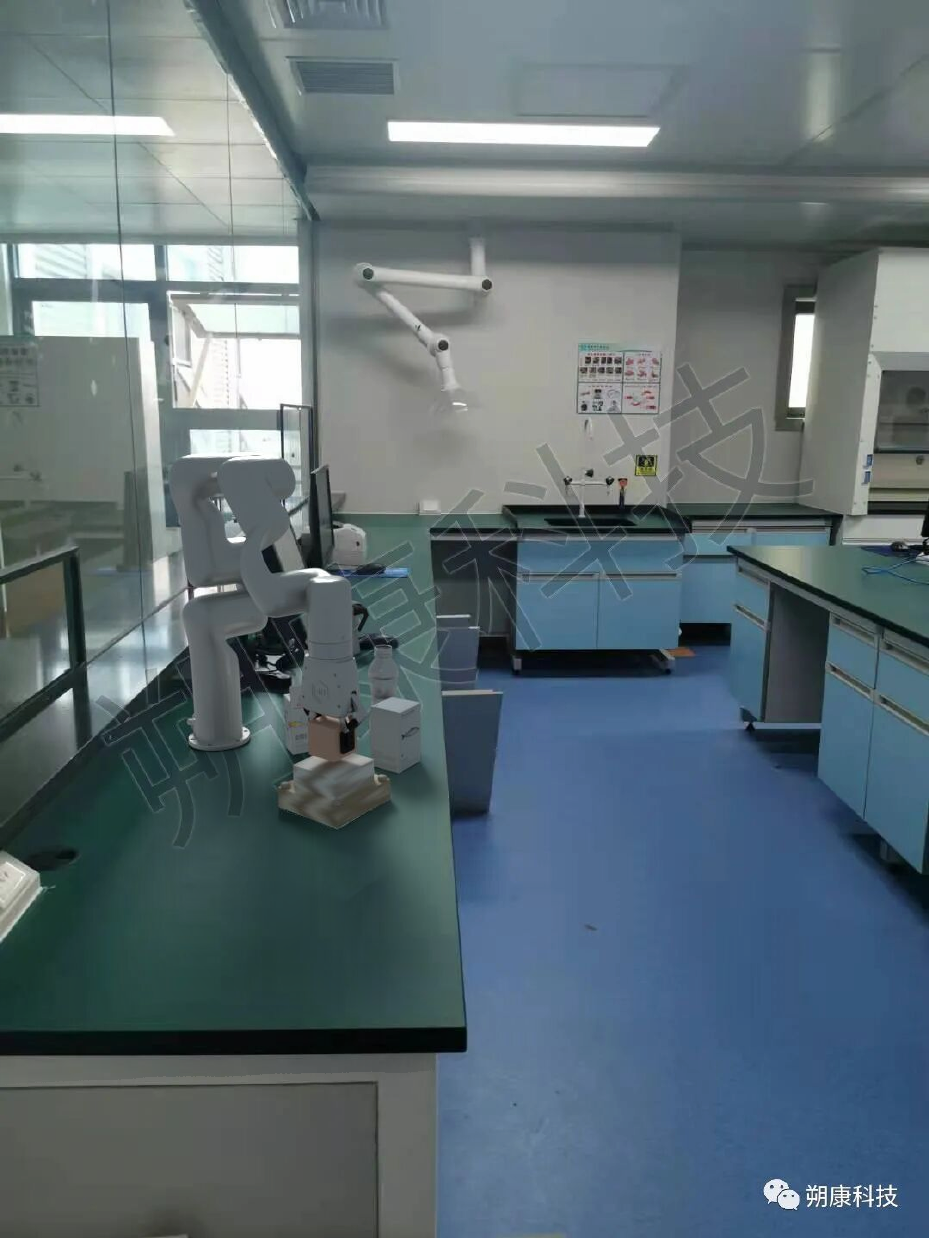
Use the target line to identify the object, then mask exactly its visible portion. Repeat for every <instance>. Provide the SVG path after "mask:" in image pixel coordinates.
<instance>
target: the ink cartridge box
mask: <svg viewBox="0 0 929 1238" xmlns="http://www.w3.org/2000/svg"><path fill="white" fill-rule="evenodd" d="M301 685H302V683H301V684H294V685H290V686H289V688H288V691H289V693H284V694H283V712H284V732H285V747H286V749H287V750H288V751H289V752H290V754H291V755H293V756H294V755H299V754H305V753H309V748H308V716H307V715H306V713H305V712H304V710H303V707H302V706H301V704H300V703H299V701H298V697H299V695H300V694H301Z"/></svg>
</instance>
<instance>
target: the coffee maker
mask: <svg viewBox="0 0 929 1238" xmlns="http://www.w3.org/2000/svg"><path fill="white" fill-rule="evenodd" d="M362 614H363V615H362ZM360 615H362V618H361V620H360ZM369 616H370V614H369V611H368V609H367V608H366V607H365V606H364V605H363V604H362V603H361V602H359V601H356V600H353V599H352V644H353V657H354V656H357V655H359V654H361V653H362V652H361V648H360V641H359V634H358V633H360V632H362V629H363V628H364V626H365V624H366V622H367V620H368V619H369ZM359 621H360V622H359ZM356 654H357V655H356Z"/></svg>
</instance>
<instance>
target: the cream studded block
mask: <svg viewBox="0 0 929 1238" xmlns="http://www.w3.org/2000/svg"><path fill="white" fill-rule="evenodd" d="M292 768H293V769H292V770H293V773H292V774H293V779H291V780H289V781H282V782H280V786H277V799H278V800H277V805H278V807H280V808H283V809H288V810H290V811H292V812H294V813H297V814H298V815H301V816H305V817H308V818H310V819H312V820H315V821H317V822H322V823H324V824H326V825H330V826H333V827H336V828H339V827H341V826H342V825H344V824H346V823H347V822H350V821H352V820H353V819H355V818H357V817H358V816H361V815H363V814H364V813H366V812H368V811H369V810H370V809H373V808H375V807H377V806H378V807H380V806H382V805H383V804H385V803H387V802H389V801H390V800H391V778H390V777H389V778H388V776H387V775H386V774H379V775H378V774H376V773H375V766H374V759H371V757H368V756H364V755H360V754H358V753H356V752H354V753H352V754H350V755H348V756H346V757H344V758H342V759H340V760H338V761H336V762H332V761H328V760H325V759H322V758H319V757H316V756H313V755H310V757H307V758H305V759H303V760H301V761H299V762H296V763H295V764H292ZM382 803H383V804H382ZM381 804H382V805H381ZM379 805H380V806H379ZM378 807H377V808H378ZM375 809H376V808H375ZM373 810H374V809H373ZM368 813H369V812H368ZM366 814H367V813H366ZM298 815H297V816H298ZM301 816H300V817H301ZM363 816H364V815H363ZM361 817H362V816H361ZM312 820H311V821H312ZM317 822H316V823H317Z"/></svg>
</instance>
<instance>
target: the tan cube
mask: <svg viewBox="0 0 929 1238" xmlns="http://www.w3.org/2000/svg"><path fill="white" fill-rule="evenodd" d="M346 720H347V723H349V719H348V717H346ZM340 732H342V728H341V725H340V721H339V719H337V718H333V717H329V716H325V715H323V716H321V717H318V718H316V719H314V720H311V721H309V722H308V748H309V752H308V755H310V756H316V757H319V758H322V759H325V760H328V761H332V762H336V761H338V760H340V759H342V758H344V757H346V756H348V755H350V754H352V753H356V752H358V728H356V729H355V749H354V750H352V751H350V752H348V753H346V754H341V753H340Z"/></svg>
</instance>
